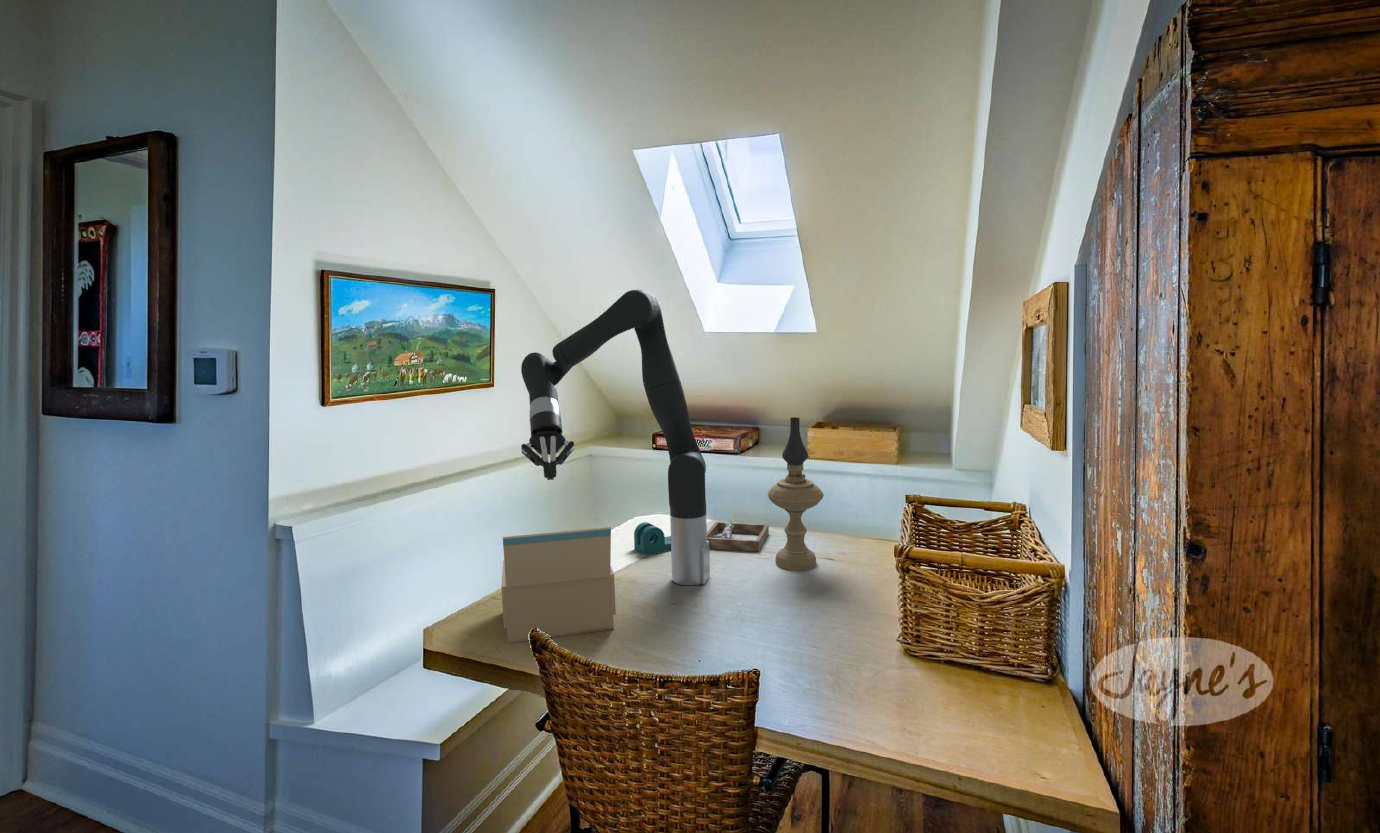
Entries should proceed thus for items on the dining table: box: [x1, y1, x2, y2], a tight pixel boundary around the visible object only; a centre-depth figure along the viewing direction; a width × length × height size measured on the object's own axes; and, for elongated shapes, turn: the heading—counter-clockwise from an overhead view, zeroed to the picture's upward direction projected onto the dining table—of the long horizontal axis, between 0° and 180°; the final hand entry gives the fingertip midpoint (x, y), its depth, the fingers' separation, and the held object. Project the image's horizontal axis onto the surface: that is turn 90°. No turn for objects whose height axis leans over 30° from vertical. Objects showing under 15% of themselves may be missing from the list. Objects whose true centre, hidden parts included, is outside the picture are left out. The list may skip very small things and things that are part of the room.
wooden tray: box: [707, 521, 770, 553], centre depth 204 cm, size 17×18×3 cm
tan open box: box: [501, 560, 617, 644], centre depth 149 cm, size 19×23×12 cm
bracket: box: [633, 521, 671, 556], centre depth 199 cm, size 18×7×8 cm, turn 118°
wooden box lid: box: [502, 526, 612, 588], centre depth 136 cm, size 12×21×1 cm
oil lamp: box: [766, 416, 825, 571], centre depth 180 cm, size 15×15×40 cm
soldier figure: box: [713, 521, 734, 539], centre depth 206 cm, size 8×5×12 cm
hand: (550, 477), depth 154 cm, fingers closed
